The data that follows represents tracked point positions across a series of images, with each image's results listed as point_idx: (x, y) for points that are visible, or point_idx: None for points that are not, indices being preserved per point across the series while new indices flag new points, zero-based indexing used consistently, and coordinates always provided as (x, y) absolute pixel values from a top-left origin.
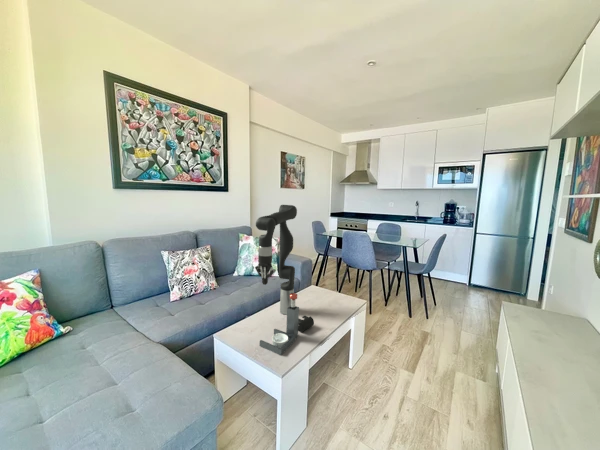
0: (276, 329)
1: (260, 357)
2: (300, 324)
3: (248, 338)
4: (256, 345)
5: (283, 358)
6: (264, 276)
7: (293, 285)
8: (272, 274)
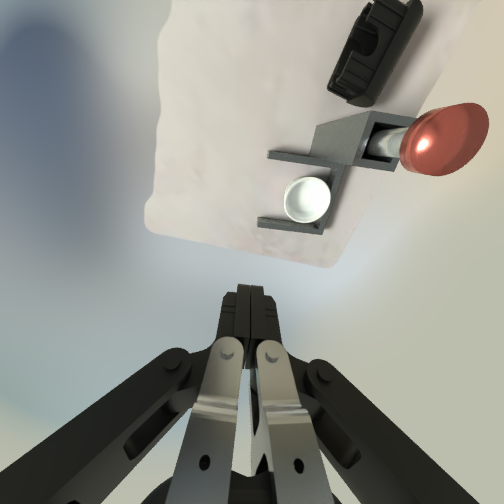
0: (276, 154)
1: (278, 251)
2: (363, 98)
3: (214, 208)
4: (249, 223)
5: (325, 235)
6: (257, 401)
7: None
8: (386, 416)
